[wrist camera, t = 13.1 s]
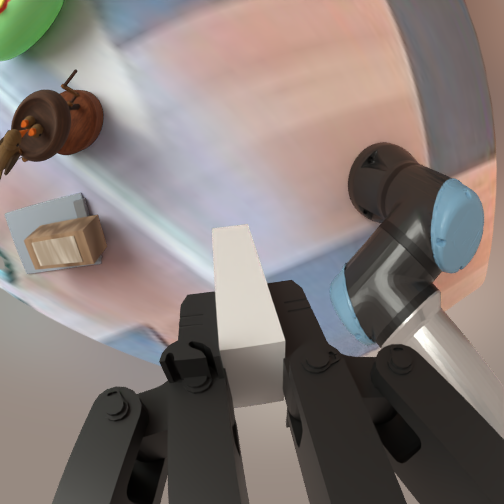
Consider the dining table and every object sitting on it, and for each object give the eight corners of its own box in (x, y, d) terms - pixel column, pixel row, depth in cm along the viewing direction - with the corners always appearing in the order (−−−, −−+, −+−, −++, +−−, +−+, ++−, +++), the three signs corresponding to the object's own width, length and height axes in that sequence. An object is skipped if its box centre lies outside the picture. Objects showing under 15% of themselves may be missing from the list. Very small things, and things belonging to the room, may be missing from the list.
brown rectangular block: (82, 230, 37) (23, 240, 37) (93, 264, 40) (35, 270, 40) (97, 214, 43) (40, 225, 42) (107, 246, 46) (50, 253, 45)
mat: (83, 192, 42) (81, 194, 41) (104, 262, 49) (102, 265, 48) (5, 213, 40) (2, 215, 39) (27, 272, 47) (25, 276, 46)
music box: (82, 172, 40) (8, 211, 22) (41, 142, 37) (-39, 167, 19) (129, 92, 36) (61, 80, 18) (82, 64, 32) (4, 48, 14)
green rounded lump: (33, 75, 30) (-19, 75, 17) (-10, 46, 22) (-58, 44, 10) (96, -11, 24) (61, -41, 12) (45, -32, 17) (7, -54, 5)
